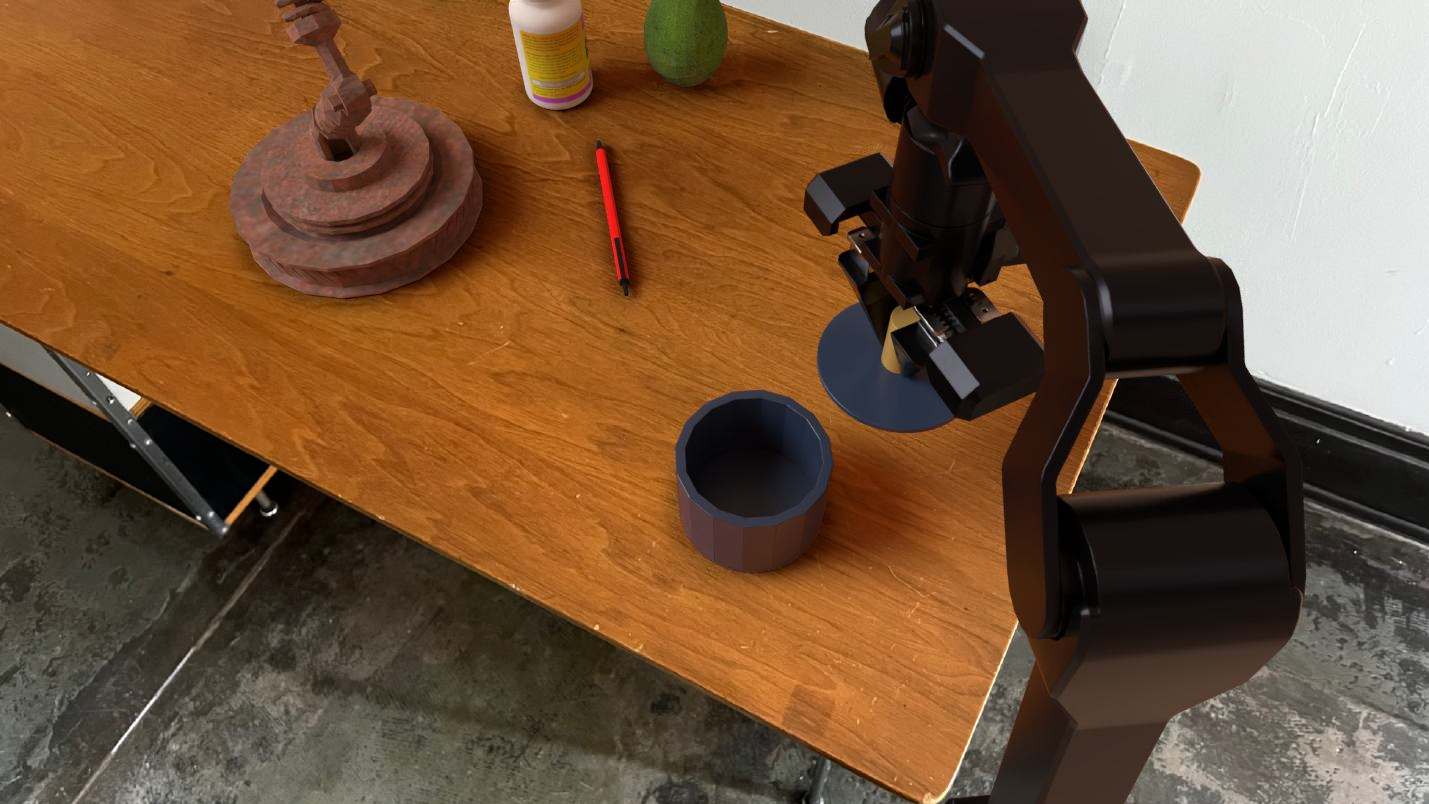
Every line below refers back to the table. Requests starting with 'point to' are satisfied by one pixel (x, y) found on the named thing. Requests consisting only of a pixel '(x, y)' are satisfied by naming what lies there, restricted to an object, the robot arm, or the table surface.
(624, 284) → the pen
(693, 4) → the fruit
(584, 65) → the supplement bottle
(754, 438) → the canister
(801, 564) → the table surface
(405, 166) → the desk lamp
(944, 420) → the canister lid
